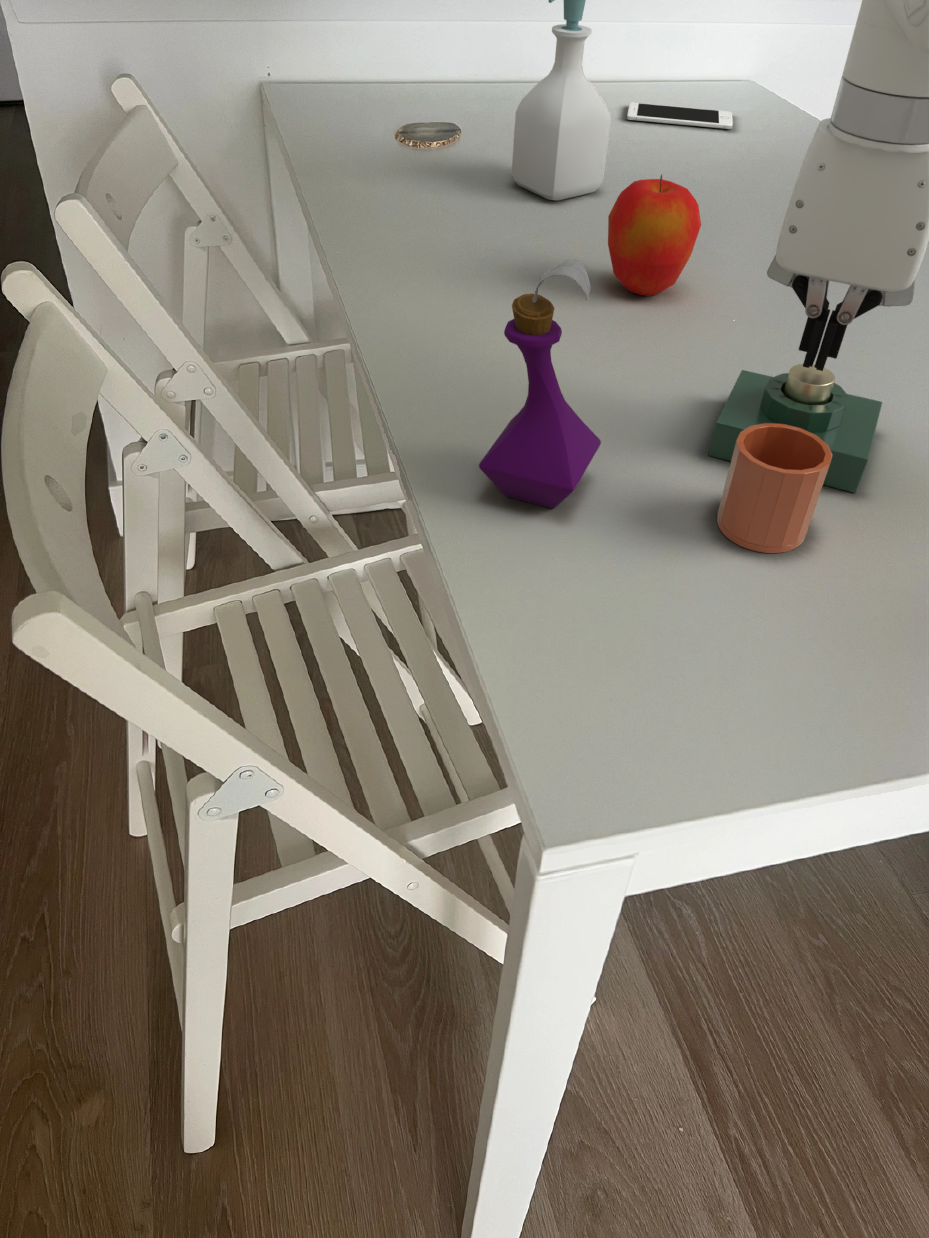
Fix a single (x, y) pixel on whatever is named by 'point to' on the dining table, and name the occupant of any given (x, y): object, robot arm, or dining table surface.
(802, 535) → the cup
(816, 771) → the dining table surface
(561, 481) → the perfume bottle
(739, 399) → the push button base
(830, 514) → the dining table surface
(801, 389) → the metal button cap
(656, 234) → the apple
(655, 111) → the cell phone
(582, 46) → the soap bottle
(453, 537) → the dining table surface
